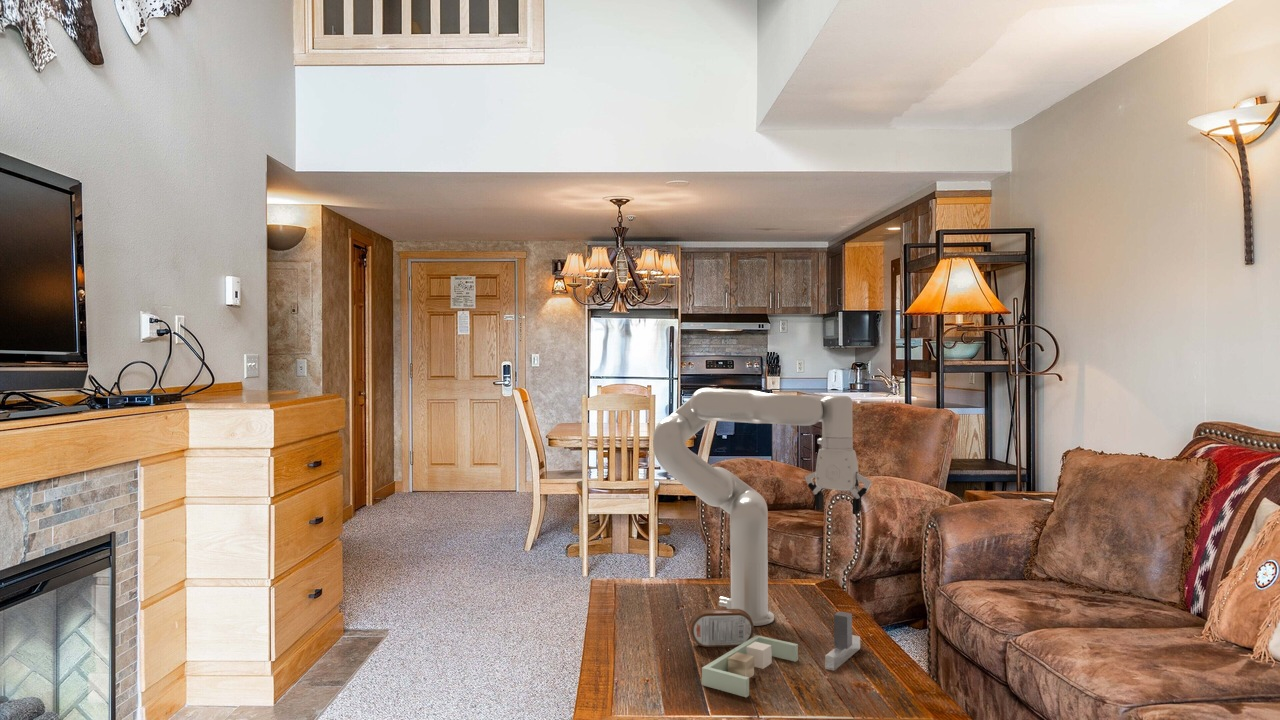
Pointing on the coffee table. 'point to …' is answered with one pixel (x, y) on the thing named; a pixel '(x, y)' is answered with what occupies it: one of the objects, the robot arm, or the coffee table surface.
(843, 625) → the slider lever
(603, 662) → the coffee table surface
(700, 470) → the robot arm
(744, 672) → the maple block
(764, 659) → the cream block
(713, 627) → the tin
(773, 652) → the block corral
